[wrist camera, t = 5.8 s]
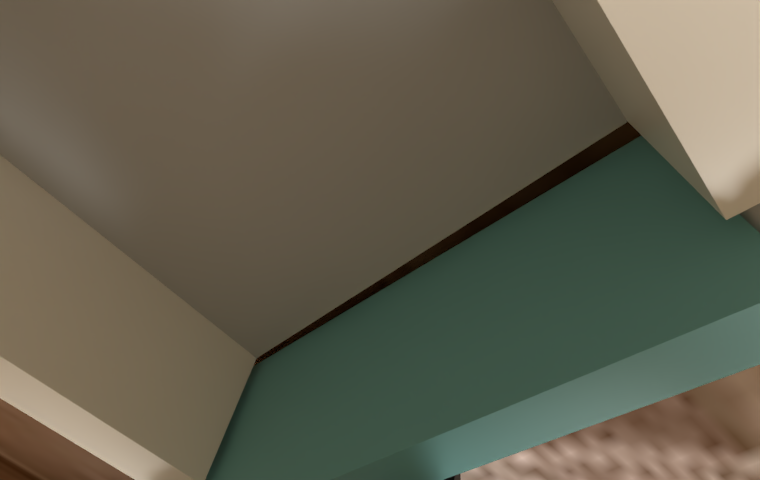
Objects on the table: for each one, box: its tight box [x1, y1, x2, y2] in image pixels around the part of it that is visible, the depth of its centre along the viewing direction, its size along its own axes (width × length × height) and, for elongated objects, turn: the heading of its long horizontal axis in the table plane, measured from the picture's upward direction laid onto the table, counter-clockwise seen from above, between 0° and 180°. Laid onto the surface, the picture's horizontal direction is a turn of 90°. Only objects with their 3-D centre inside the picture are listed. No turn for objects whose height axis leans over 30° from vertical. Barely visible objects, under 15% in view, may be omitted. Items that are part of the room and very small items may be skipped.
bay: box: [0, 0, 760, 480], centre depth 6 cm, size 11×11×4 cm
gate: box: [205, 135, 760, 480], centre depth 8 cm, size 11×1×4 cm, turn 130°
